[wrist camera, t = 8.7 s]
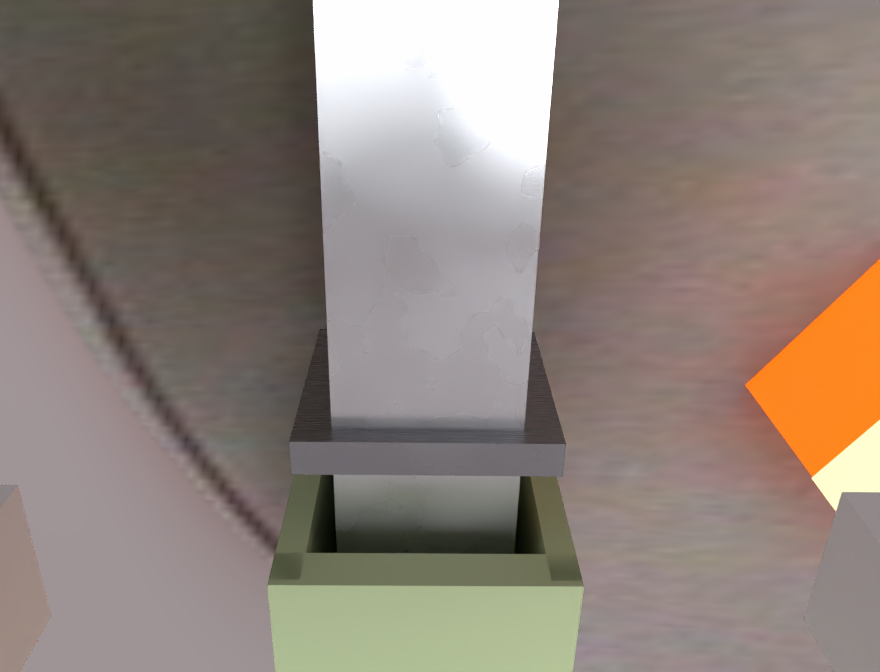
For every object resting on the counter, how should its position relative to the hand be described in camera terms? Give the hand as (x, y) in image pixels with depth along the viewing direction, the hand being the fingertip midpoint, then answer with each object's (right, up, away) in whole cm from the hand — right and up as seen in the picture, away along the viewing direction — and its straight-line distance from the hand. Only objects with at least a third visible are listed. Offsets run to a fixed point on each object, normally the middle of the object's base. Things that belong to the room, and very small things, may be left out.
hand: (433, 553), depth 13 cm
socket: (-1, -1, +19) cm, 19 cm away
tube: (0, +8, +11) cm, 14 cm away
